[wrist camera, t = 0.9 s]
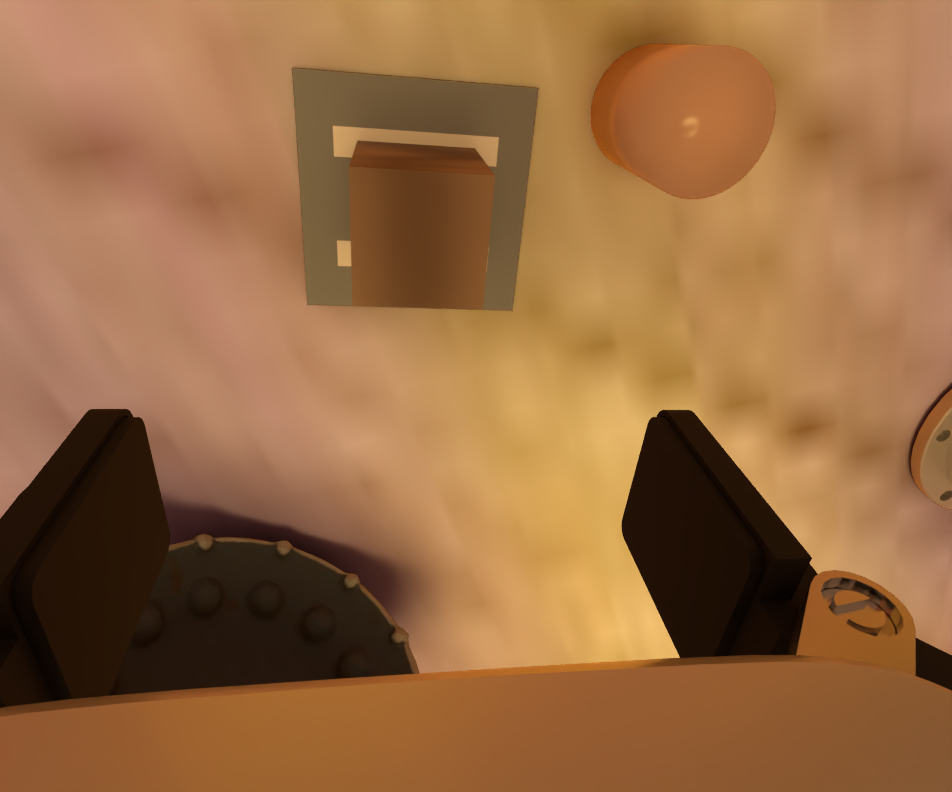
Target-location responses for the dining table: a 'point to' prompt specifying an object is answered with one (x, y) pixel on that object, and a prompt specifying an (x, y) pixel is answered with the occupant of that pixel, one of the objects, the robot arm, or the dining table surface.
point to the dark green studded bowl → (257, 621)
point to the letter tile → (410, 122)
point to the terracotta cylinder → (684, 116)
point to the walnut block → (419, 225)
